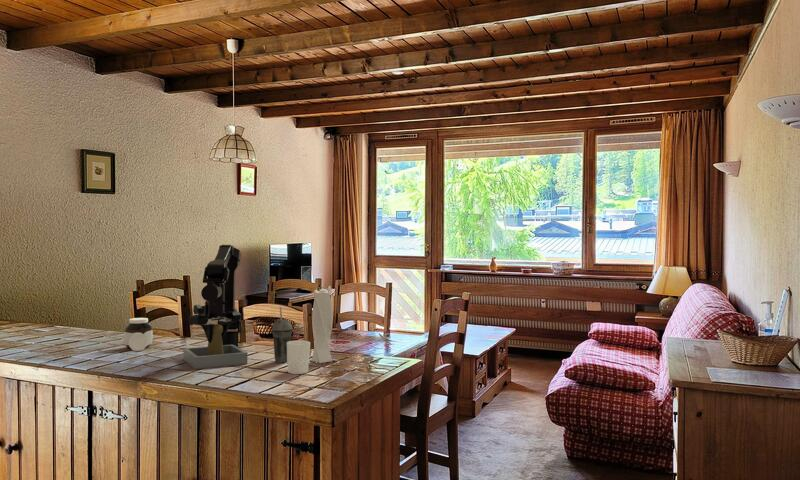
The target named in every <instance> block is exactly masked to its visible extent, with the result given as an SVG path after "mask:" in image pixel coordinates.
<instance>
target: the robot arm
mask: <svg viewBox="0 0 800 480" xmlns="http://www.w3.org/2000/svg"><path fill="white" fill-rule="evenodd" d="M241 262H242V253H241V250H240V249H238V248H237V247H234V245H232V244H221V245H219V247H218V251H217V254H216V256H215V258H214V260H210V261H209V262H208V263H207V264H206V266H205V268H204V271H203V277H202V284H206V285H205V286H204V287H203V288H202V289H201V292H200V295H201V297H202V298H203V300H204V305H201V304H194V305H193V309H192V310H193V314H191V315H190V316H189V317H188V324H191V325H197V326H200V327H201V328H202V329H203V332H204V334H205V338H206V339H207V343H208V342H209V343H211V340H212V334H213V327H214V323H212V321H214V322H215V321H217V324H219V325H222V326H223V332H222V333H221V334H222V343H223V345H235V346H237V347H238V348H240V346H239V334H242V333H243V326H242V321H241V320H242V314H241V313H240V311H238V310H237V309H236V272H237V270H238V268H239V267H240V263H241ZM240 349H241V348H240Z"/></svg>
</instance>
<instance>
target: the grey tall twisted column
mask: <svg viewBox="0 0 800 480" xmlns="http://www.w3.org/2000/svg"><path fill="white" fill-rule="evenodd" d="M318 290H319V291H318ZM318 290H317V289H315V290H314V292H313V293H314V301H313V306H312V314H311V315H312V316H311V322H312V323H311V325H312V333H313V340H314V349H313V352H312V356H311V359H309V360H310V361H309V362H311V361H314V362H317V363H316V364H318V363H320V364H319V365H322V364H321V363H325V362H329V361H332V360H333V359H332V355H331V354H332V353H331V349H330V344H329V343H330V339H331V335H332V330H333V329H332V328H333V321H334V319H333V318H334V317H333V305H332V299H331V298H332V297H331V294H332V286H331V285H329V286H328V287H327V289H326V288H325V289H322V288H321V289H318ZM314 362H313V363H314ZM325 364H326V363H325Z"/></svg>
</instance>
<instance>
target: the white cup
mask: <svg viewBox="0 0 800 480" xmlns="http://www.w3.org/2000/svg"><path fill="white" fill-rule="evenodd" d="M310 354H311V341H309V340H300V339H298V340H290V341H289V342H287V362H286V363H287V372H288V374H290V375H291V374H292V375H303V374H308V372H309V364H310V361H309V360H310Z"/></svg>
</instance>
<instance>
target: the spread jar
mask: <svg viewBox="0 0 800 480" xmlns="http://www.w3.org/2000/svg"><path fill="white" fill-rule="evenodd" d="M128 321H129V323H128V324H127V325H126V327H124V331H123V344H124V346H125V347H126V348H127V349H129V350H132V351H134V352H141V351H144V348H145V349H147V348H149V347H150V346H151V344H152V343H153V333H154V332H153V327H152V326H151V325H150V324H149V323H148V322H149V318H148V317H133V318H129V320H128Z"/></svg>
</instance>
